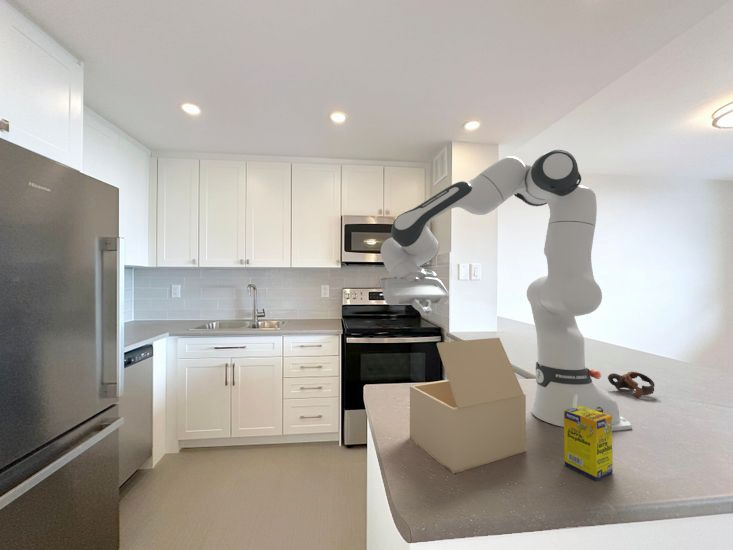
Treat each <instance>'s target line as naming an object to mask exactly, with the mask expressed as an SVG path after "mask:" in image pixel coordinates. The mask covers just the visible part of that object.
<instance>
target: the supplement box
mask: <svg viewBox="0 0 733 550" xmlns="http://www.w3.org/2000/svg"><path fill="white" fill-rule="evenodd" d="M563 437H564V438H563V439H564V440H563V442H564V443H563V445H564V446H563V448H564V449H563V450H564V451H563V452H564V453H563V457H564V459H563V460H564V463H563V464H564V466H566V467H568V468H569V469H572V470H573V471H576V472H577V473H580V474H581V475H584V476H585V477H588V478H589V479H592V480H594V481H599V480H600V479H601V478H604V477H606V476H608V475H611V474H612V473H614V472H613V469H614V467H613V431H612V416H611V415H608V414H605V413H602V412H599V411H595V410H592V409H590V408H587V407H583V406H578V407H576V408H572V409H568V410H564V427H563Z"/></svg>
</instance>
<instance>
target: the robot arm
mask: <svg viewBox="0 0 733 550" xmlns="http://www.w3.org/2000/svg"><path fill="white" fill-rule="evenodd" d="M581 181H582V175H581V174H580V171H579V167H578V162H577V161H576V158H575V156H574V155H573V154H572V153H570V151H569V152H568V151H566V150H565V149H554V150H550V151H547V152H544V154H542V155H540V156H539V157H538V158H537V159H536V160H535V161H534V163H533V164H532V165H528V164H525V163H524V162H523V161H522V160H521V159H519V158H518V157H516V156H506V157H503V158H501V159H500V160H497V161H496V162H494V163H492V165H489V167H487V168H486V169H484V170H483V171H482V172H480V173H479V174H478V175H477V176H475V177H474V178H472V179H470V180H468V181H463V180H461V181H458V182H455V183H453V184H451V185H449V186H448V187H446V188H445V189H444V188H443V190H441V191H440V192H437V193H435V195H433V196H432V197H430V198H428V199H427V200H426V201H424V202H422V203H421V204H418V205H417V206H416V207H414V208H412V209H409V210H407V211H405V212H403V213H401V214H399V215H398V216H397V217H396V218H395V219H394V221H393V223H392V226H391V231H390V235H391V237H389V238H387V239H386V240H384V242H383V243H382V244H381V247H380V256H381V259H382V263H383V265H384V267H385V268H386V271H388V272H389V275H390V277H382V278H380V279H379V280H378V284H379V287H380V288H381V291H382V296H383V299H384V301H385V303H386V304H387V305H389V306H412V307H413V308H414V310H416V311H418V312H419V314H420V316H431V315H432V313H433V309H432V308H431V305H445V304H446V303H447V301H448V299H449V298H450V293H449V291H448V289H447V288H446V287H445V285H444V283H443V282H442V280H440V279H439V278H437V273H436V272H435V270H434V271H433V270H431V269H426V268H424V267H422V266H423V265H425V264H427V263H429V262H430V261H432V260H433V259H434V258H436V256H437V255H438V253H439V250H440V244H439V241H438V240H437V238H436V237H435V235H434V234H433V232H432V231H431V230H430V228H429V227H428V225H429V224H430V223H431V222H432V221H434V220H436V219H437V218H439V217H441V216H442V215H444V214H445V213H447V212H448V211H450V210H452V209H454V208H461V209H463V210H464V211H466V212H468V213H470V214H472V215H476V216H484V215H488V214H489V213H491V212H493V211H494V210H496V209H497V208H498V207H499V206H500V205H502V204H503V203H504V202H506V201H507V200H508V199H509V198H511V197H512V196H513V195H514V196H515V197H516V198H518V199H520V200H521V201H522V202H524V203H525V204H527V205H528V206H532V207H541V206H545V205H548V209H549V219H548V223H547V230H546V235H545V240H544V241H545V242H544V248H543V253H544V255H545V258H546V263H547V275H545V276H541V277H538V278H537V279H536V280H535V279H534V281H532V282H531V283H530V284H529V286H528V287H527V289H526V298H527V301H528V302H529V305H530V307H531V313H532V317H533V321H534V325H535V331H536V345H537V351H536V352H537V353H536V354H537V361H536V362H535V379H536V380H535V381H536V391H535V397H534V401H533V404H532V409H531V414H532V415H533V416H534V417H536V418H538V419H539V420H541V421H544V422H546V423H549V424H551V425H554V426H558V427H561V428H564V410H568V409H572V408H576V407H578V406H583V407H587V408H590V409H592V410H595V411H599V412H602V413H605V414H608V415H611V416H612V432H615V431H623V430H631V429H632V427H633V426H632V424H631V422H630V421H629V420H628V419H626V418H625V417H623V416H622V415H620V410H619V406H618V402H616V400H615V399H614V398H613V397H612V396H611V395H610V394H609V393H607V392H606V391H604V390H603V389H602V388H601V387H599V386H598V385H597V384H595V383H594V382H593V379H592V378H594V379H595V380H600V379H601V378H602V373H601V372H600V371H598V370H595V369H589V368H587V367H586V359H585V358H586V356H585V353H586V351H585V350H586V349H585V338H584V336H583V333H582V332H581V331H580V329H579V327H578V324H577V321H576V317H579V316H585V315H589V314H591V313H593V312H595V311H596V310H597V309H598V308H599V307H600V305H601V303H602V300H603V292H602V288H601V286H600V285H599V284H598V283H597V282H596V279H595V277H594V272H593V265H592V263H593V262H592V251H593V250H592V249H593V244H594V235H595V229H596V225H597V224H596V222H597V215H598V214H597V210H598V209H597V205H598V204H597V194H596V193H595V191H594V190H592V189H591V188H589V187H587V186H584V185H580V184H581Z"/></svg>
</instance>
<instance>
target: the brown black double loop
mask: <svg viewBox="0 0 733 550" xmlns="http://www.w3.org/2000/svg"><path fill="white" fill-rule="evenodd" d="M638 377H639V378H640V379H641V381H643V382H647V383H648V384H649V385H641V387H639V383H638V382H636V381H635V380H634V379H637V378H638ZM614 379H615V380H617V381H615V380H614ZM607 380H608V382H609V383H610V384H611V385H612V386H614V387H615V388H616V389H617V390H618V391H619V390H620V389H628V390H631V391H635V392H634V393H633V396H634V397H635V398H637V399H640V398H642V396H649V395H652V394H654V392H655V382H654V380H653V379H652V378H650V377H649V376H647V375H645V374H644V373H641V372H637V371H628V372H627V373H625V374H622V375H620V374H617V373H610V374H609V375H608V376H607Z"/></svg>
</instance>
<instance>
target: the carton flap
mask: <svg viewBox="0 0 733 550" xmlns="http://www.w3.org/2000/svg"><path fill="white" fill-rule="evenodd" d="M436 347H437V349H438V353H439V357H440V359H441V362H442V365H443V368H444V371H445V375H446V377H447V380H448V381H449V384H450V387H451V390H452V393H453V396H454V399H455V402H456V405H457V408H463V407H468V406H473V405H478V404H483V403H488V402H493V401H498V400H503V399H508V398H512V397H517V396H522V395H524V394H525V393H524V391H523V389H522V387H521V384H520V382H519V380H518V378H517V375H516V373H515V371H514V368H513V366H512V363H511V362H510V359H509V357H508V355H507V352H506V350H505V348H504V346H503V343H502V341H501V339H500V337H490V338H478V339H468V340H467V339H466V340H455V341H443V342H437V343H436Z"/></svg>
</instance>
